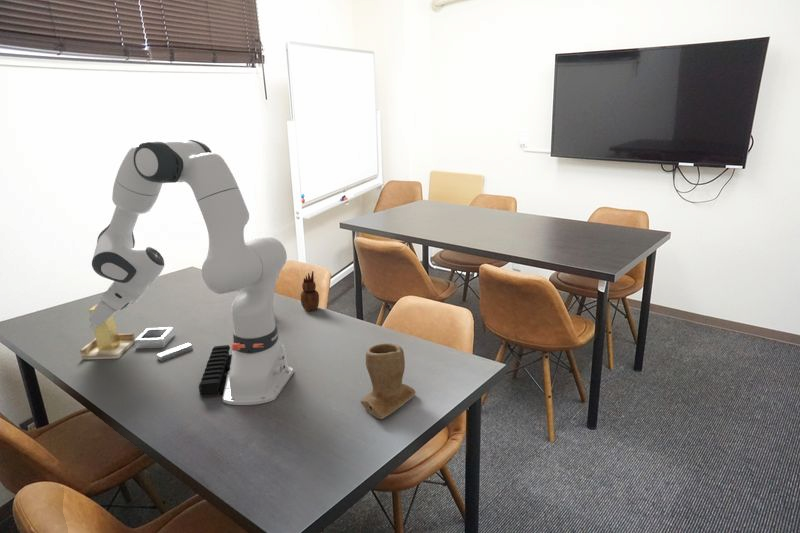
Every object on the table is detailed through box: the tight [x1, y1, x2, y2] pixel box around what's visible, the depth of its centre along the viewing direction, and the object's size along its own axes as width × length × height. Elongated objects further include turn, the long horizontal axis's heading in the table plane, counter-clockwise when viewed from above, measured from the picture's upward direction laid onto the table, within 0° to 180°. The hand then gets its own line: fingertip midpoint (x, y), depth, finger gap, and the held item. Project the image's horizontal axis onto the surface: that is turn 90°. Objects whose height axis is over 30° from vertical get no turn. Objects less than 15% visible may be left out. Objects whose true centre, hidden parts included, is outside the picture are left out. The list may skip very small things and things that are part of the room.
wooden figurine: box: [300, 270, 320, 312], centre depth 182 cm, size 7×6×15 cm
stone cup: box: [360, 342, 416, 420], centre depth 124 cm, size 15×12×15 cm
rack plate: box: [80, 332, 136, 360], centre depth 155 cm, size 11×11×3 cm
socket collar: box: [134, 326, 176, 349], centre depth 161 cm, size 9×9×3 cm
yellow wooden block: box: [88, 303, 120, 351], centre depth 153 cm, size 4×4×14 cm
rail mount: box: [198, 344, 232, 397], centre depth 138 cm, size 21×6×5 cm, turn 11°
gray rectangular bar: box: [156, 342, 194, 362], centre depth 153 cm, size 10×2×2 cm, turn 138°
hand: (100, 321), depth 153 cm, fingers open, 8 cm apart
